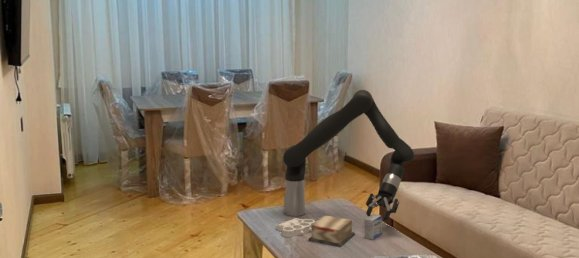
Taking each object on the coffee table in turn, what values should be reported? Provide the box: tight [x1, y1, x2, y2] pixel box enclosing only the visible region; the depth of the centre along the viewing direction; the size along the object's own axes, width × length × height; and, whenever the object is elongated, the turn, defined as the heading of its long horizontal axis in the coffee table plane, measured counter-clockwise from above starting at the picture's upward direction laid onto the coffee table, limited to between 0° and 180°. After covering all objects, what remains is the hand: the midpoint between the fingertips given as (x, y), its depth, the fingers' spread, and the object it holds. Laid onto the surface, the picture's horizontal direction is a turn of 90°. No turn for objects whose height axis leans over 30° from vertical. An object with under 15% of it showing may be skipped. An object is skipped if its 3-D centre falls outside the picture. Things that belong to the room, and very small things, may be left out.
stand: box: [308, 215, 356, 248], centre depth 252 cm, size 15×15×7 cm
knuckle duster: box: [275, 217, 316, 238], centre depth 262 cm, size 3×18×15 cm
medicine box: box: [363, 213, 383, 240], centre depth 253 cm, size 8×4×9 cm, turn 143°
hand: (376, 217), depth 255 cm, fingers open, 8 cm apart
